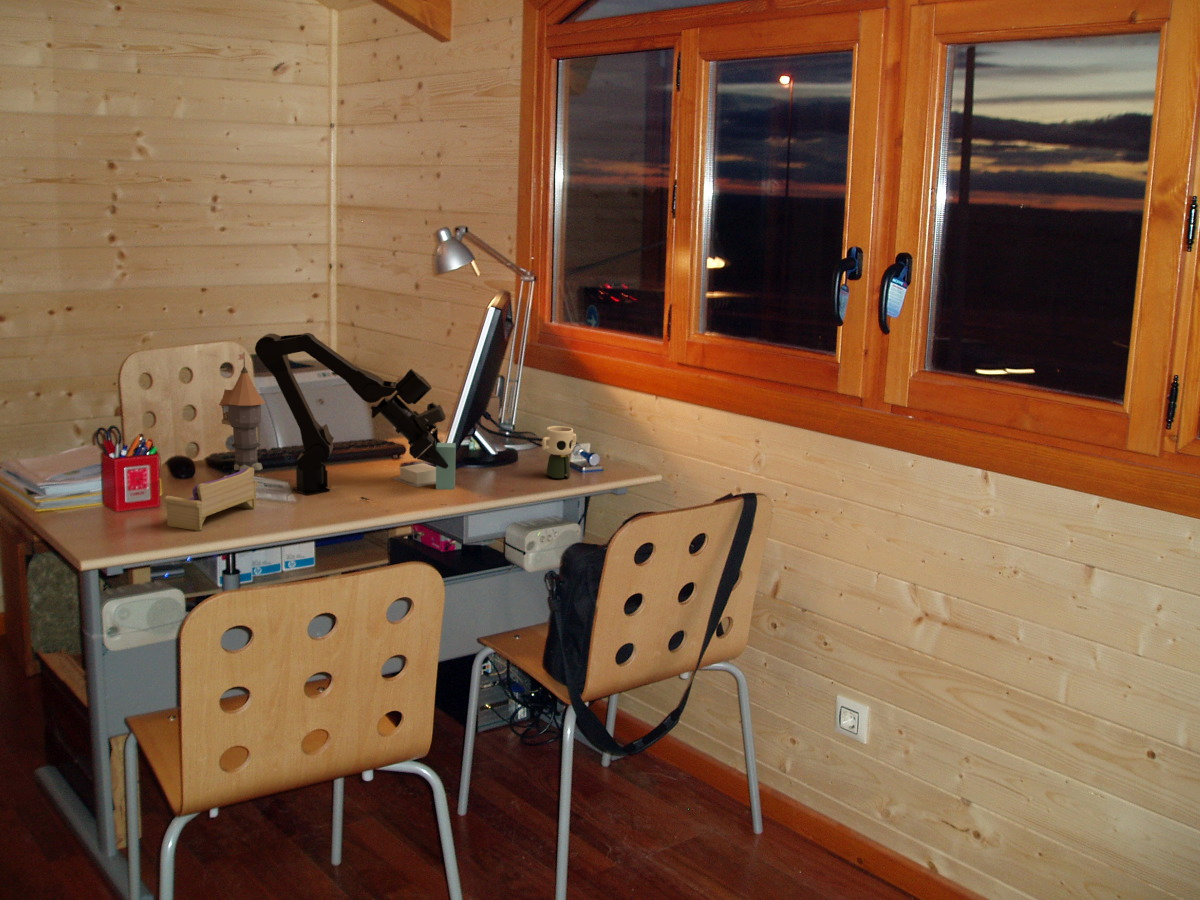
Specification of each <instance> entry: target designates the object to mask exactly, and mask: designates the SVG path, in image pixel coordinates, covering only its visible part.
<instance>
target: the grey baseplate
mask: <svg viewBox="0 0 1200 900" xmlns="http://www.w3.org/2000/svg"><path fill="white" fill-rule="evenodd" d="M391 480H395V481H398V482H400V483H402V484H406V485H408V486H411V487H414V488H419V487H423V486H429V485H436V481H435V482H429V483H424V484H418V485H416V484H414V483H411V482H408V481H405V480H402V479H400V476H398V477H392V478H391Z"/></svg>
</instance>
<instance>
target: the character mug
mask: <svg viewBox="0 0 1200 900" xmlns="http://www.w3.org/2000/svg"><path fill="white" fill-rule="evenodd" d="M541 442H542V443H541V448H542V450H544V451H545V452H546V453H549V454H550V455H549V456H548V460H547V461H548V462H547V467H546V476H548V477H550V478H553V479H564V478H565V475H566V478H569V477H570V476H571V472H570V471H571V470H570V460H569V459H570V458H569V456H568V455H569V454H571V453H572V452H573V450H574V446H576V444H577V434H576V433H574V428H572V427H571V426H570V427H569V426H563V425H561V426H560V425H553V426H548V427H546V430H545V437H542V441H541Z"/></svg>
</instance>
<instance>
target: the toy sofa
mask: <svg viewBox="0 0 1200 900" xmlns="http://www.w3.org/2000/svg"><path fill="white" fill-rule="evenodd" d="M254 478H255V470H254V468H252V467H249V468H246V469H243V470H241V471H239V470H238V471H237V472H235V473H232V474H228V475H224V476H223V477H222V478H221V477H220V478H218V479H213V480H211V481H205V482H201V483H197V484H196V485H195V486H194V487H193V488H192V495H193V497H189V498H184V497H179V496H171V495H166V496H165V497H164V503H165V504H166V513H167V514H166V517H167V521H166V522H167V526H168V527H172V528H177V529H178V528H179V529H185V530H189V531H198V532H199V531H202V530H203V524H204V521H205V520H206V518H207V517H208V516H211V515H213V514H215V513H218V512H221V511H225V510H226V509H227V510H228V509H229V508H232V507H237V508H243V509H248V510H256V509H257V487H258V486H259V483H258V481H257V480H254Z"/></svg>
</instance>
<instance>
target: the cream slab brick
mask: <svg viewBox="0 0 1200 900" xmlns="http://www.w3.org/2000/svg"><path fill="white" fill-rule="evenodd" d="M399 468H400V469H399V471H400V472H399V473H400V474H399V477H400V479H402V480H405V481H408V482H411V483H414V484H416V485H418V484H424V483H429V482H435V481H436V466H433V465H430V464H427V463H424V462H423V463H415V464H412V465H411V464H410V465H405V466H400V467H399Z"/></svg>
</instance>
